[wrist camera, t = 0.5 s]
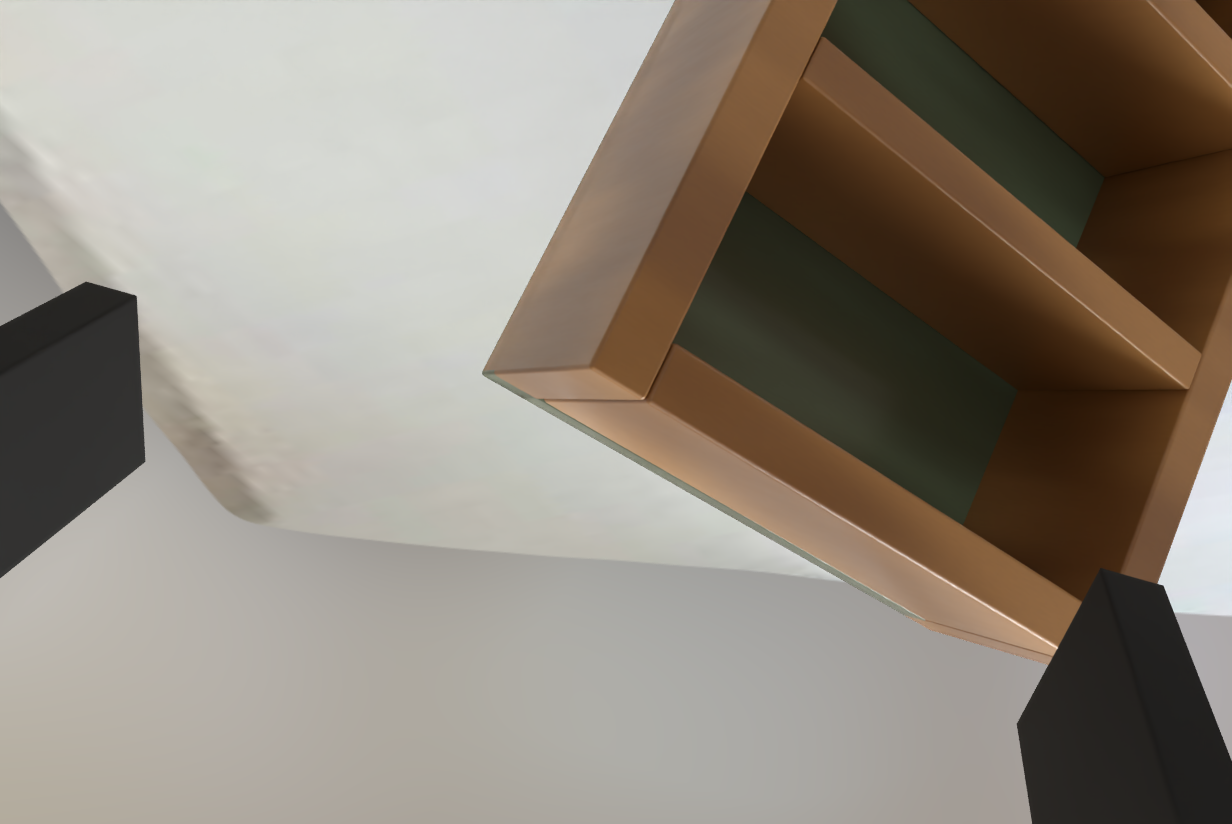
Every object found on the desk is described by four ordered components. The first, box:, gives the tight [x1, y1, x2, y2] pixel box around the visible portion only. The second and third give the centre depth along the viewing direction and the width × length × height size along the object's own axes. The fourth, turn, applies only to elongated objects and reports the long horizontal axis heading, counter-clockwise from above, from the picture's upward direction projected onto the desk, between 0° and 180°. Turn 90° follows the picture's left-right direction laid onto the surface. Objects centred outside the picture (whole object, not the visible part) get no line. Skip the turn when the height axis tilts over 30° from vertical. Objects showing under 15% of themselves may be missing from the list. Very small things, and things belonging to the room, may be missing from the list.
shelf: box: [482, 0, 1232, 665], centre depth 20 cm, size 5×12×18 cm
